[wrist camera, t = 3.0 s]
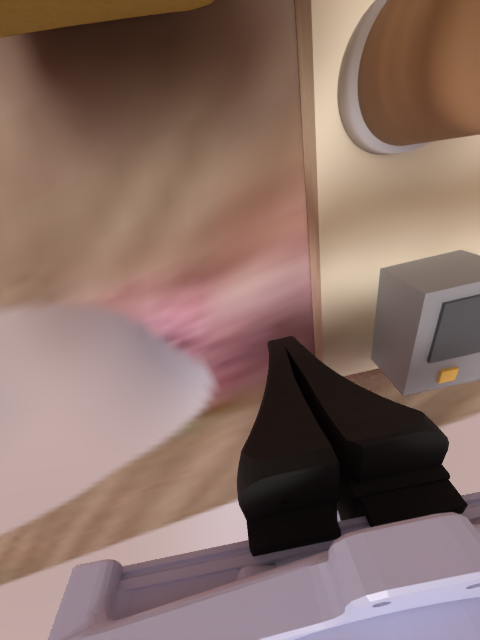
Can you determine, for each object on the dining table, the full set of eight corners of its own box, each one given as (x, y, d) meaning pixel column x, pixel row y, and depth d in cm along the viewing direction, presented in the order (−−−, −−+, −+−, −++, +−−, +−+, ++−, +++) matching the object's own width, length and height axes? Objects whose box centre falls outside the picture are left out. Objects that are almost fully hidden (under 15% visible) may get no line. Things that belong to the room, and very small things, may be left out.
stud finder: (434, 344, 15) (482, 381, 12) (371, 358, 15) (405, 398, 12) (460, 249, 12) (532, 271, 9) (380, 268, 12) (428, 295, 9)
